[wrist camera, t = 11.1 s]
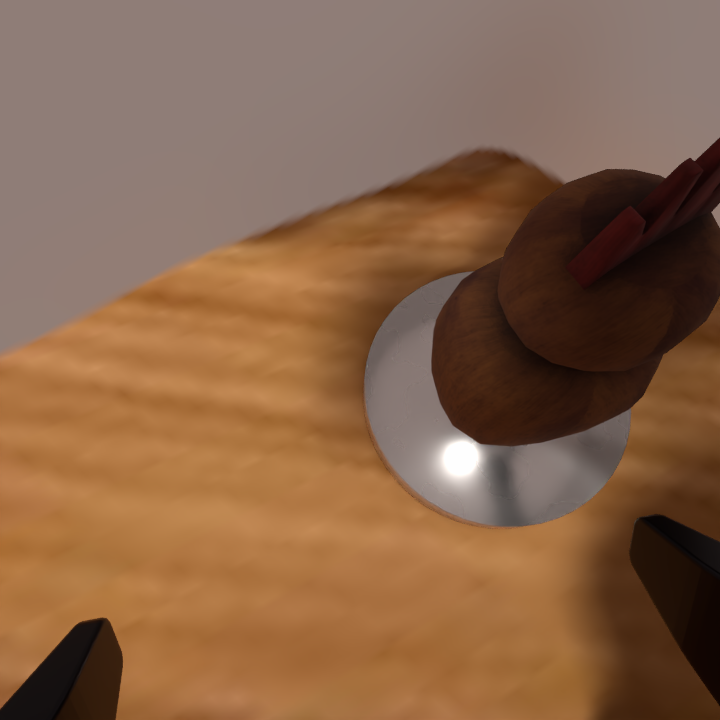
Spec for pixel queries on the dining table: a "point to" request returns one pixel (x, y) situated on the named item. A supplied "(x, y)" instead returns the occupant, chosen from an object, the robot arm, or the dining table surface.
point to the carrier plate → (460, 452)
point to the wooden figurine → (580, 304)
